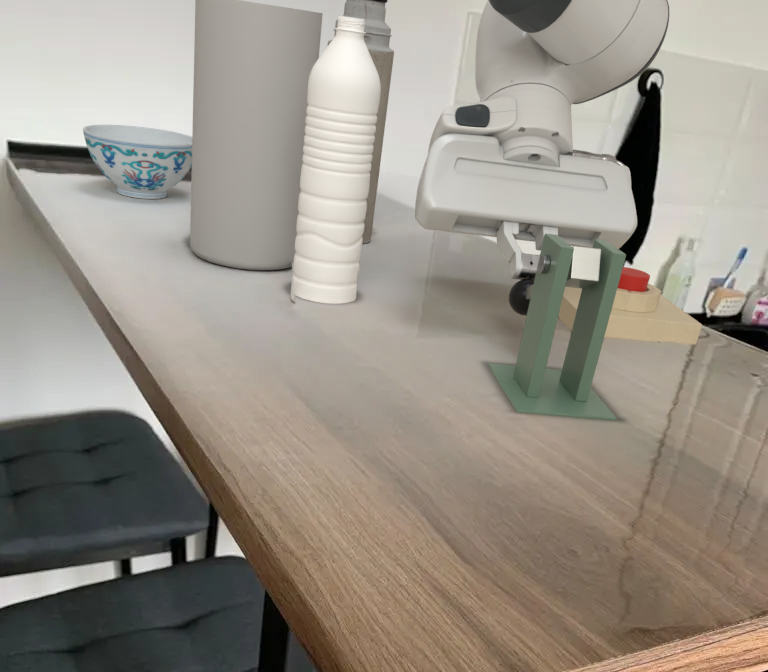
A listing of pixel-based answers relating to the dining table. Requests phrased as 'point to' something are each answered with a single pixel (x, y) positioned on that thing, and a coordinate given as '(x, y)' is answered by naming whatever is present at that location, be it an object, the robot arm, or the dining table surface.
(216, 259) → the cylinder vase
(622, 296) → the tan square base plate
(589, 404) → the switch bracket
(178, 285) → the dining table surface
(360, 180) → the water bottle
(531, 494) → the dining table surface
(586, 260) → the lever
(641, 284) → the stop button
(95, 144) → the chinaware
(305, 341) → the dining table surface
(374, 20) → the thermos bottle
